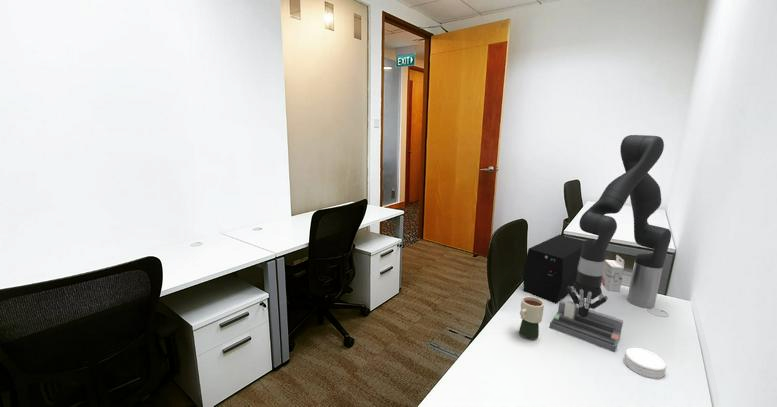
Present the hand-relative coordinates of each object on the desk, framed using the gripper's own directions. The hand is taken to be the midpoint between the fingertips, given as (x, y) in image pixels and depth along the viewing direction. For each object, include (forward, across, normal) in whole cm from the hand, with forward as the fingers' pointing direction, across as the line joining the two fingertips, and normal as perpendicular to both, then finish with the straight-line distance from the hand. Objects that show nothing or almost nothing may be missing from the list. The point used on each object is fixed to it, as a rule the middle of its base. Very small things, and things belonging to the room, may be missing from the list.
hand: (582, 316), depth 119 cm
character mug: (+6, +13, +16) cm, 21 cm away
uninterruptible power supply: (+6, +17, -30) cm, 35 cm away
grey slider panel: (+6, -1, 0) cm, 6 cm away
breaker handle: (+3, +4, 0) cm, 5 cm away
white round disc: (+6, -19, +8) cm, 21 cm away
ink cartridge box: (+6, -2, -48) cm, 48 cm away
